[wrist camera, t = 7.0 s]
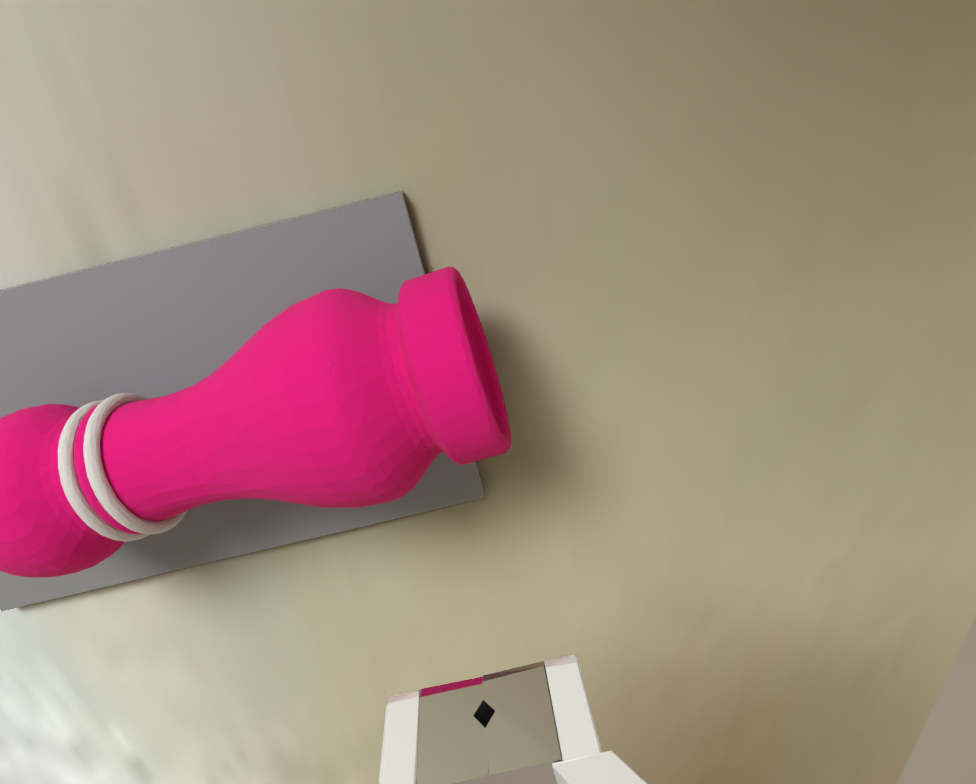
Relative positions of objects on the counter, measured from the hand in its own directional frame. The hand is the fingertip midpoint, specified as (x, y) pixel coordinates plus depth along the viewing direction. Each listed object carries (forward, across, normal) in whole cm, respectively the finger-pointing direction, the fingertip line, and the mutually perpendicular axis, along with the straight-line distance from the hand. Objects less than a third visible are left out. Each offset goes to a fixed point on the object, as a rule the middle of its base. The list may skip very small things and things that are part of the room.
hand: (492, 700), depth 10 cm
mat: (+16, +12, 0) cm, 20 cm away
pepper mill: (+12, -1, -1) cm, 12 cm away
